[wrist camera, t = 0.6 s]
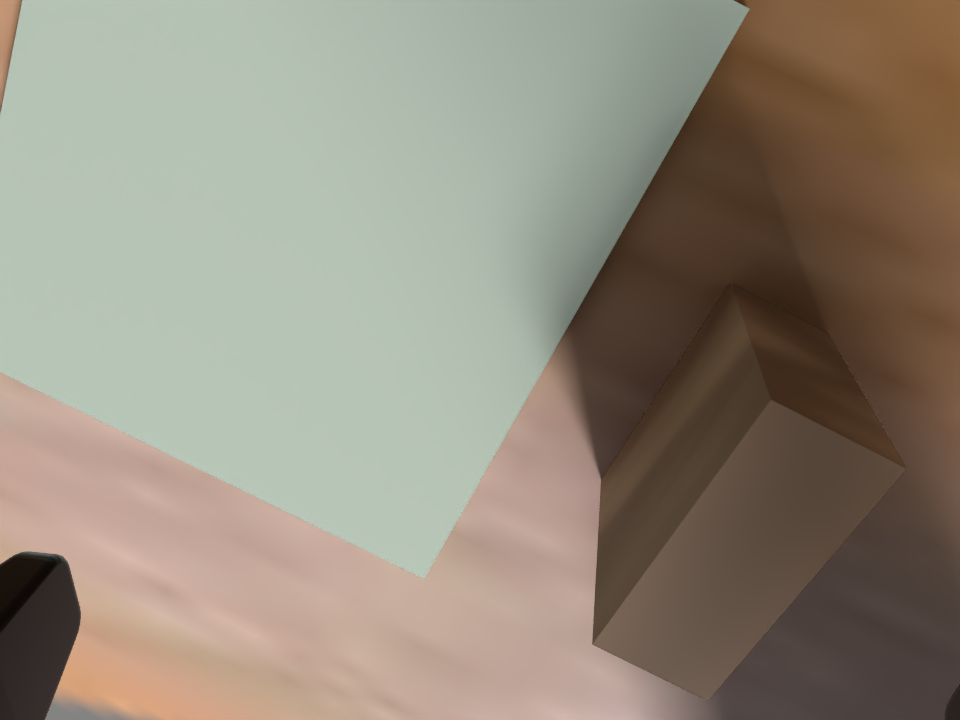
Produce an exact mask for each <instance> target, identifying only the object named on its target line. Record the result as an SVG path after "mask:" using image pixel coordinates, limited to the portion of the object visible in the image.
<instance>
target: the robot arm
mask: <svg viewBox="0 0 960 720" xmlns="http://www.w3.org/2000/svg"><path fill="white" fill-rule="evenodd" d="M80 619H81V611H80V606H79V602H78V598H77V594H76V590H75V587H74V583H73V579H72V575H71V571H70V567H69V564H68V562H67V561H66V559H65V558H64V557H63V556H60V555H57V554H48V553H39V552H21V553H19V554H16V555H14V556H12V557H11V558H9V559H8V560H6V561H5V562H3V563H2V564H0V720H45V718H46V716H47V713H48V711H49V708H50V705H51V703H52V700H53V698H54V695H55V692H56V690H57V687H58V684H59V682H60V679H61V676H62V674H63V671H64V669H65V666H66V663H67V661H68V658H69V655H70V653H71V650H72V647H73V645H74V642H75V640H76V637H77V634H78V631H79V626H80ZM945 720H960V685H959V686H958V688H957V689H956V691H955V692H954V694H953V696H952V697H951V699H950V700H949V702H948V704H947V708H946V712H945Z"/></svg>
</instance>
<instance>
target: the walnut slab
mask: <svg viewBox="0 0 960 720" xmlns="http://www.w3.org/2000/svg"><path fill="white" fill-rule="evenodd" d="M906 469H907V468H906V467H905V465H904V463H903V462H902V460H901V458H900V456H899V455H898V453H897V451H896V450H895V448H894V446H893V444H892V443H891V441H890V439H889V438H888V436H887V434H886V432H885V431H884V429H883V427H882V425H881V424H880V422H879V420H878V419H877V417H876V415H875V413H874V412H873V410H872V408H871V407H870V405H869V403H868V401H867V400H866V398H865V396H864V395H863V393H862V391H861V389H860V388H859V386H858V384H857V383H856V381H855V379H854V377H853V376H852V374H851V372H850V371H849V369H848V367H847V365H846V364H845V362H844V360H843V359H842V357H841V355H840V353H839V352H838V350H837V348H836V347H835V345H834V343H833V341H832V340H831V338H830V336H829V334H828V333H827V332H825V331H823V330H821V329H819V328H817V327H815V326H813V325H811V324H809V323H807V322H806V321H804V320H802V319H800V318H798V317H796V316H794V315H792V314H790V313H788V312H786V311H784V310H782V309H780V308H778V307H776V306H774V305H772V304H770V303H769V302H767V301H765V300H763V299H761V298H759V297H757V296H755V295H753V294H751V293H749V292H747V291H745V290H743V289H741V288H739V287H737V286H735V285H734V284H732V283H730V284H729V285H728V287H727V289H726V290H725V292H724V293H723V295H722V296H721V298H720V299H719V301H718V302H717V304H716V305H715V307H714V308H713V310H712V311H711V313H710V315H709V316H708V318H707V319H706V321H705V322H704V324H703V325H702V327H701V328H700V330H699V331H698V333H697V334H696V336H695V337H694V339H693V341H692V342H691V344H690V345H689V347H688V348H687V350H686V351H685V353H684V354H683V356H682V357H681V359H680V360H679V362H678V363H677V365H676V366H675V368H674V370H673V371H672V373H671V374H670V376H669V377H668V379H667V380H666V382H665V383H664V385H663V386H662V388H661V389H660V391H659V392H658V394H657V396H656V397H655V399H654V400H653V402H652V403H651V405H650V406H649V408H648V409H647V411H646V412H645V414H644V415H643V417H642V418H641V420H640V421H639V423H638V425H637V426H636V428H635V429H634V431H633V432H632V434H631V435H630V437H629V438H628V440H627V441H626V443H625V444H624V446H623V447H622V449H621V451H620V452H619V454H618V455H617V457H616V458H615V460H614V461H613V463H612V464H611V466H610V467H609V469H608V470H607V472H606V473H605V475H604V477H603V478H602V480H601V494H600V512H599V531H598V549H597V568H596V587H595V605H594V624H593V643H592V645H595V646H597V647H599V648H601V649H603V650H605V651H607V652H609V653H611V654H613V655H615V656H617V657H619V658H621V659H623V660H625V661H627V662H629V663H631V664H633V665H635V666H637V667H639V668H641V669H643V670H646V671H648V672H650V673H652V674H654V675H656V676H658V677H660V678H662V679H664V680H666V681H668V682H670V683H672V684H674V685H676V686H678V687H680V688H682V689H684V690H686V691H688V692H690V693H692V694H694V695H696V696H699V697H701V698H703V699H705V700H707V701H708V700H709V699H710V698H711V696H712V695H713V694H714V693H715V692H716V691H717V689H718V688H719V687H720V686H721V685H722V684H723V682H724V681H725V680H726V679H727V678H728V677H729V675H730V674H731V673H732V672H733V671H734V670H735V668H736V667H737V666H738V665H739V664H740V663H741V661H742V660H743V659H744V658H745V657H746V656H747V654H748V653H749V652H750V651H751V650H752V649H753V647H754V646H755V645H756V644H757V643H758V642H759V640H760V639H761V638H762V637H763V636H764V635H765V633H766V632H767V631H768V630H769V629H770V628H771V626H772V625H773V624H774V623H775V622H776V621H777V619H778V618H779V617H780V616H781V615H782V614H783V612H784V611H785V610H786V609H787V608H788V607H789V605H790V604H791V603H792V602H793V601H794V600H795V598H796V597H797V596H798V595H799V594H800V593H801V591H802V590H803V589H804V588H805V587H806V586H807V584H808V583H809V582H810V581H811V580H812V579H813V577H814V576H815V575H816V574H817V573H818V572H819V570H820V569H821V568H822V567H823V566H824V565H825V563H826V562H827V561H828V560H829V559H830V558H831V556H832V555H833V554H834V553H835V552H836V551H837V549H838V548H839V547H840V546H841V545H842V544H843V542H844V541H845V540H846V539H847V538H848V537H849V535H850V534H851V533H852V532H853V531H854V530H855V528H856V527H857V526H858V525H859V524H860V523H861V521H862V520H863V519H864V518H865V517H866V516H867V514H868V513H869V512H870V511H871V510H872V509H873V507H874V506H875V505H876V504H877V503H878V502H879V500H880V499H881V498H882V497H883V496H884V495H885V493H886V492H887V491H888V490H889V489H890V488H891V486H892V485H893V484H894V483H895V482H896V481H897V479H898V478H899V477H900V476H901V475H902V474H903V472H904V471H905V470H906Z"/></svg>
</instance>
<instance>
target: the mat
mask: <svg viewBox="0 0 960 720" xmlns="http://www.w3.org/2000/svg"><path fill="white" fill-rule="evenodd" d="M748 11H749V8H747V7H745V6H743V5H741V4H740V3H738V2H736V1H734V0H22V5H21V10H20V15H19V20H18V26H17V31H16V36H15V41H14V46H13V51H12V57H11V62H10V67H9V72H8V77H7V82H6V88H5V93H4V98H3V103H2V108H1V113H0V372H1V373H3V374H5V375H7V376H9V377H11V378H13V379H15V380H17V381H19V382H21V383H23V384H25V385H27V386H29V387H32V388H34V389H36V390H38V391H40V392H42V393H44V394H46V395H48V396H50V397H52V398H54V399H56V400H58V401H60V402H62V403H64V404H66V405H68V406H70V407H73V408H75V409H77V410H79V411H81V412H83V413H85V414H87V415H89V416H91V417H93V418H95V419H97V420H99V421H101V422H103V423H105V424H107V425H109V426H111V427H113V428H116V429H118V430H120V431H122V432H124V433H126V434H128V435H130V436H132V437H134V438H136V439H138V440H140V441H142V442H144V443H146V444H148V445H150V446H152V447H154V448H157V449H159V450H161V451H163V452H165V453H167V454H169V455H171V456H173V457H175V458H177V459H179V460H181V461H183V462H185V463H187V464H189V465H191V466H193V467H195V468H197V469H200V470H202V471H204V472H206V473H208V474H210V475H212V476H214V477H216V478H218V479H220V480H222V481H224V482H226V483H228V484H230V485H232V486H234V487H236V488H238V489H241V490H243V491H245V492H247V493H249V494H251V495H253V496H255V497H257V498H259V499H261V500H263V501H265V502H267V503H269V504H271V505H273V506H275V507H277V508H279V509H281V510H284V511H286V512H288V513H290V514H292V515H294V516H296V517H298V518H300V519H302V520H304V521H306V522H308V523H310V524H312V525H314V526H316V527H318V528H320V529H322V530H325V531H327V532H329V533H331V534H333V535H335V536H337V537H339V538H341V539H343V540H345V541H347V542H349V543H351V544H353V545H355V546H357V547H359V548H361V549H363V550H365V551H368V552H370V553H372V554H374V555H376V556H378V557H380V558H382V559H384V560H386V561H388V562H390V563H392V564H394V565H396V566H398V567H400V568H402V569H404V570H406V571H409V572H411V573H413V574H415V575H417V576H419V577H421V578H423V579H424V578H425V576H426V574H427V573H428V571H429V569H430V567H431V566H432V564H433V562H434V560H435V559H436V557H437V555H438V553H439V552H440V550H441V548H442V546H443V545H444V543H445V541H446V539H447V538H448V536H449V534H450V532H451V531H452V529H453V527H454V525H455V524H456V522H457V520H458V518H459V517H460V515H461V513H462V511H463V510H464V508H465V506H466V504H467V503H468V501H469V499H470V497H471V496H472V494H473V492H474V490H475V489H476V487H477V485H478V483H479V482H480V480H481V478H482V476H483V475H484V473H485V471H486V469H487V468H488V466H489V464H490V462H491V461H492V459H493V457H494V455H495V454H496V452H497V450H498V448H499V447H500V445H501V443H502V441H503V440H504V438H505V436H506V434H507V433H508V431H509V429H510V427H511V426H512V424H513V422H514V420H515V419H516V417H517V415H518V413H519V412H520V410H521V408H522V406H523V405H524V403H525V401H526V399H527V398H528V396H529V394H530V392H531V391H532V389H533V387H534V385H535V384H536V382H537V380H538V378H539V377H540V375H541V373H542V371H543V370H544V368H545V366H546V364H547V363H548V361H549V359H550V357H551V356H552V354H553V352H554V350H555V349H556V347H557V345H558V343H559V342H560V340H561V338H562V336H563V335H564V333H565V331H566V329H567V328H568V326H569V324H570V322H571V321H572V319H573V317H574V315H575V314H576V312H577V310H578V308H579V307H580V305H581V303H582V301H583V300H584V298H585V296H586V294H587V293H588V291H589V289H590V287H591V286H592V284H593V282H594V280H595V279H596V277H597V275H598V273H599V272H600V270H601V268H602V266H603V265H604V263H605V261H606V259H607V258H608V256H609V254H610V252H611V251H612V249H613V247H614V245H615V244H616V242H617V240H618V238H619V237H620V235H621V233H622V231H623V230H624V228H625V226H626V224H627V223H628V221H629V219H630V217H631V216H632V214H633V212H634V210H635V209H636V207H637V205H638V203H639V202H640V200H641V198H642V196H643V195H644V193H645V191H646V189H647V188H648V186H649V184H650V182H651V181H652V179H653V177H654V175H655V174H656V172H657V170H658V168H659V167H660V165H661V163H662V161H663V160H664V158H665V156H666V154H667V153H668V151H669V149H670V147H671V146H672V144H673V142H674V140H675V139H676V137H677V135H678V133H679V132H680V130H681V128H682V126H683V125H684V123H685V121H686V119H687V118H688V116H689V114H690V112H691V111H692V109H693V107H694V105H695V104H696V102H697V100H698V98H699V97H700V95H701V93H702V91H703V90H704V88H705V86H706V84H707V83H708V81H709V79H710V77H711V76H712V74H713V72H714V70H715V69H716V67H717V65H718V63H719V62H720V60H721V58H722V56H723V55H724V53H725V51H726V49H727V48H728V46H729V44H730V42H731V41H732V39H733V37H734V35H735V34H736V32H737V30H738V28H739V27H740V25H741V23H742V21H743V20H744V18H745V16H746V14H747V13H748Z"/></svg>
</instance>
